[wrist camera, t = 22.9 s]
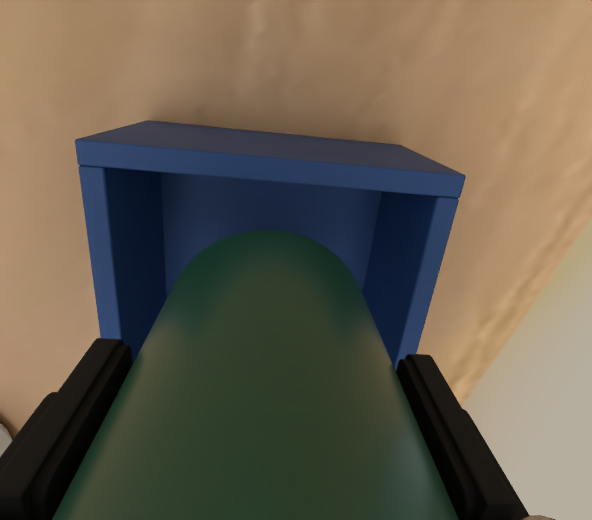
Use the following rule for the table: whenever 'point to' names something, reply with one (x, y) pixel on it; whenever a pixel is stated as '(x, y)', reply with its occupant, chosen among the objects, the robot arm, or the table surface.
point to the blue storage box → (261, 215)
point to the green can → (260, 402)
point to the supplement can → (4, 439)
